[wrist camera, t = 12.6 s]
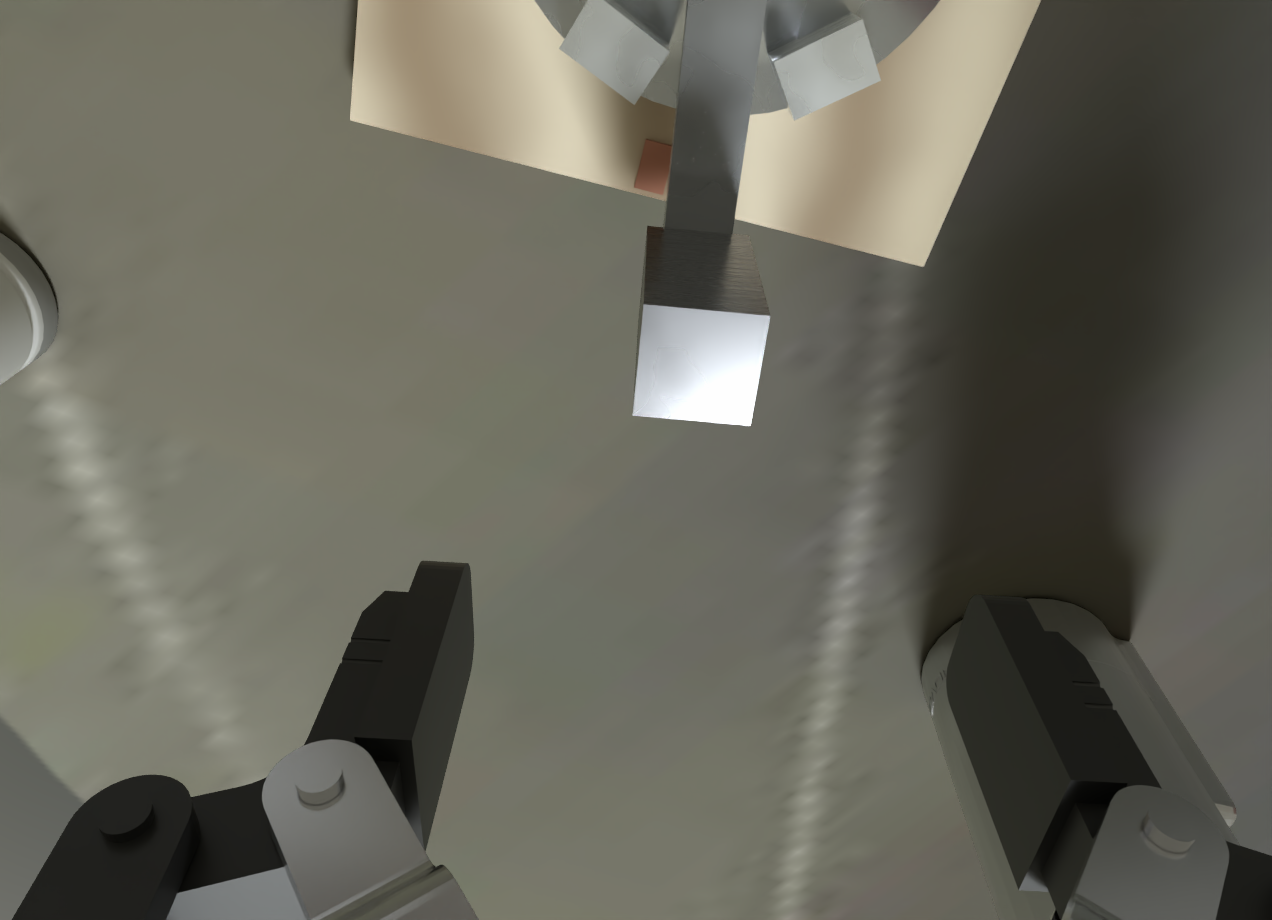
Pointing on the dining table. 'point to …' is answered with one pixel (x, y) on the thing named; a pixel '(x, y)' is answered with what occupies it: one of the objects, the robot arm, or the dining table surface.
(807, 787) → the dining table surface
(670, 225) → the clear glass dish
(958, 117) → the base plate
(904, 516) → the dining table surface
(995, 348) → the dining table surface
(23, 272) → the travel mug
